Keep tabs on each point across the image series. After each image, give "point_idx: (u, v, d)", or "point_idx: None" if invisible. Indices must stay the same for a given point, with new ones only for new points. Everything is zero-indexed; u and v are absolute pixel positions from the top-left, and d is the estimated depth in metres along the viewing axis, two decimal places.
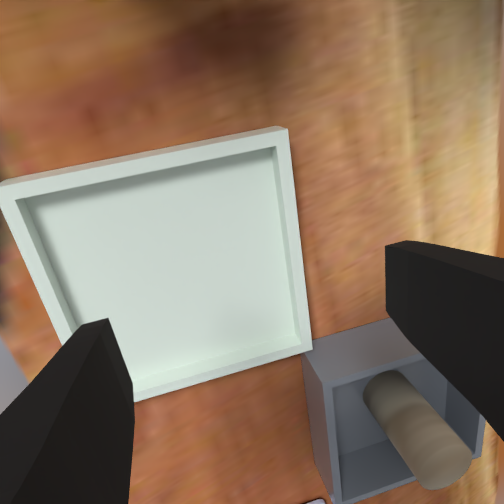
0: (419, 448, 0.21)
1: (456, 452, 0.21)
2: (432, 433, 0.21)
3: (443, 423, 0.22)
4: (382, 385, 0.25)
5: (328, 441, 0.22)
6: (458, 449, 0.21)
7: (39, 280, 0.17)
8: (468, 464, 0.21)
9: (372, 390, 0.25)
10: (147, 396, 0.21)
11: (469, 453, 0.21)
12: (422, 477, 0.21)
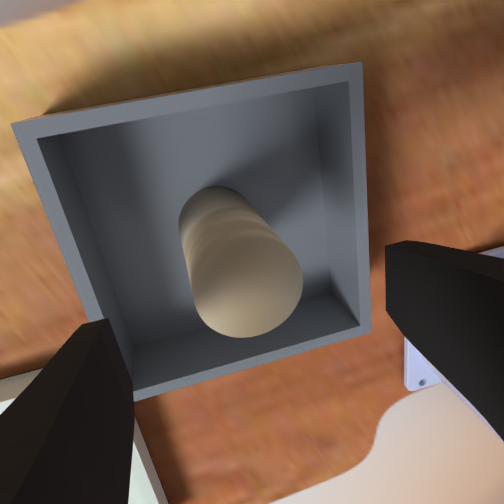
0: None
1: (213, 281, 0.11)
2: None
3: (193, 250, 0.12)
4: None
5: (232, 371, 0.16)
6: (206, 279, 0.11)
7: None
8: (255, 241, 0.11)
9: None
10: None
11: (224, 250, 0.11)
12: (259, 329, 0.12)
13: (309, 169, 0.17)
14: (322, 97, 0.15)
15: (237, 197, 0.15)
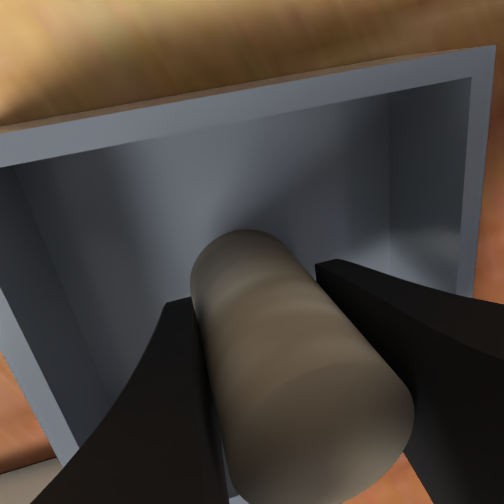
0: None
1: (263, 440, 0.06)
2: None
3: (221, 362, 0.07)
4: None
5: None
6: (252, 437, 0.06)
7: None
8: (343, 370, 0.06)
9: None
10: None
11: (287, 388, 0.06)
12: (334, 498, 0.07)
13: (374, 203, 0.12)
14: (405, 102, 0.10)
15: (279, 251, 0.10)
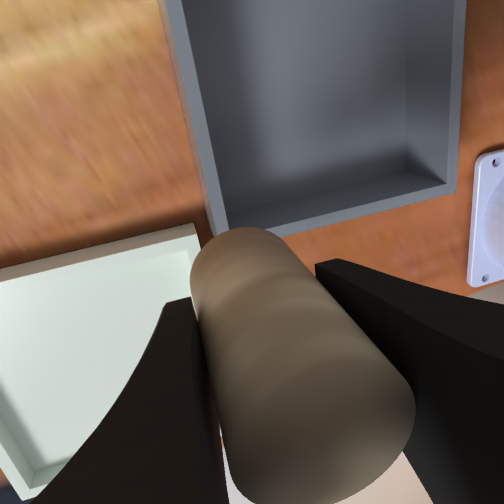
0: None
1: (263, 435, 0.06)
2: None
3: (222, 358, 0.07)
4: None
5: (324, 225, 0.16)
6: (253, 432, 0.06)
7: None
8: (345, 365, 0.06)
9: None
10: None
11: (288, 384, 0.06)
12: (334, 495, 0.07)
13: (394, 30, 0.17)
14: None
15: (280, 248, 0.10)
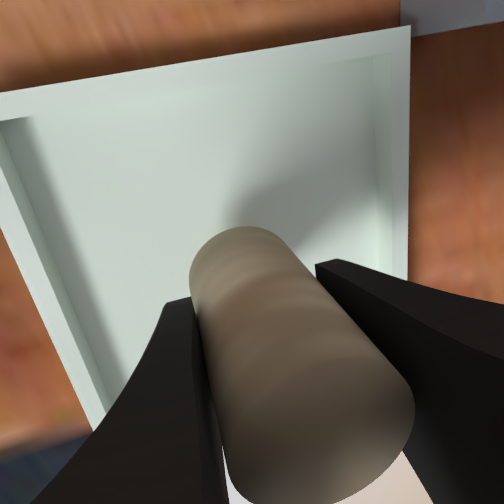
0: None
1: (262, 434, 0.06)
2: None
3: (221, 357, 0.07)
4: None
5: None
6: (251, 431, 0.06)
7: None
8: (344, 365, 0.06)
9: None
10: None
11: (287, 383, 0.06)
12: (333, 496, 0.07)
13: None
14: None
15: (279, 248, 0.10)
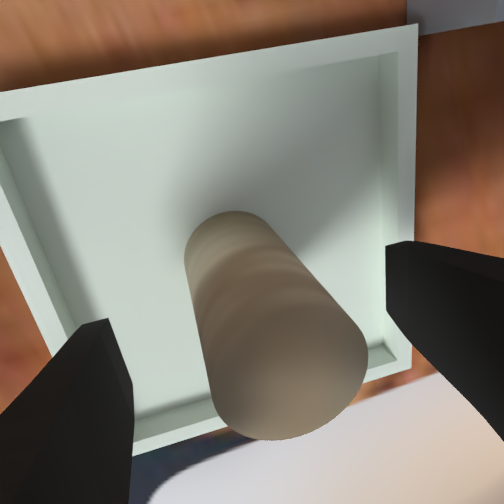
0: None
1: (240, 369, 0.07)
2: None
3: (208, 312, 0.08)
4: None
5: None
6: (231, 365, 0.07)
7: (216, 424, 0.14)
8: (306, 311, 0.07)
9: None
10: None
11: (259, 324, 0.07)
12: (301, 428, 0.08)
13: None
14: None
15: (263, 228, 0.11)
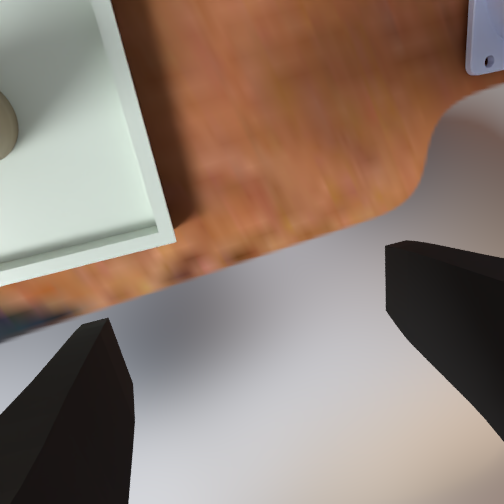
0: None
1: None
2: None
3: None
4: None
5: None
6: None
7: None
8: None
9: None
10: (158, 178, 0.16)
11: None
12: None
13: None
14: None
15: None
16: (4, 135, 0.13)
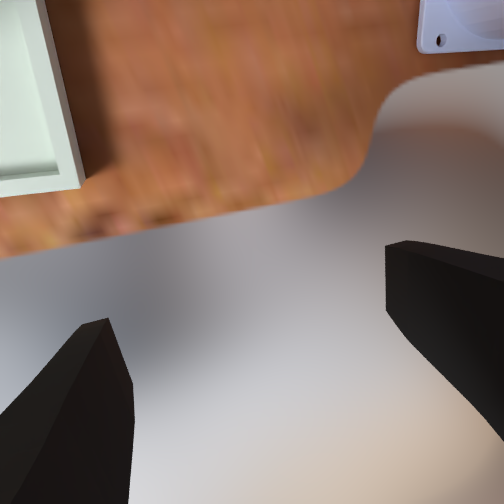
0: None
1: None
2: None
3: None
4: None
5: None
6: None
7: None
8: None
9: None
10: (62, 112, 0.14)
11: None
12: None
13: None
14: None
15: None
16: None
